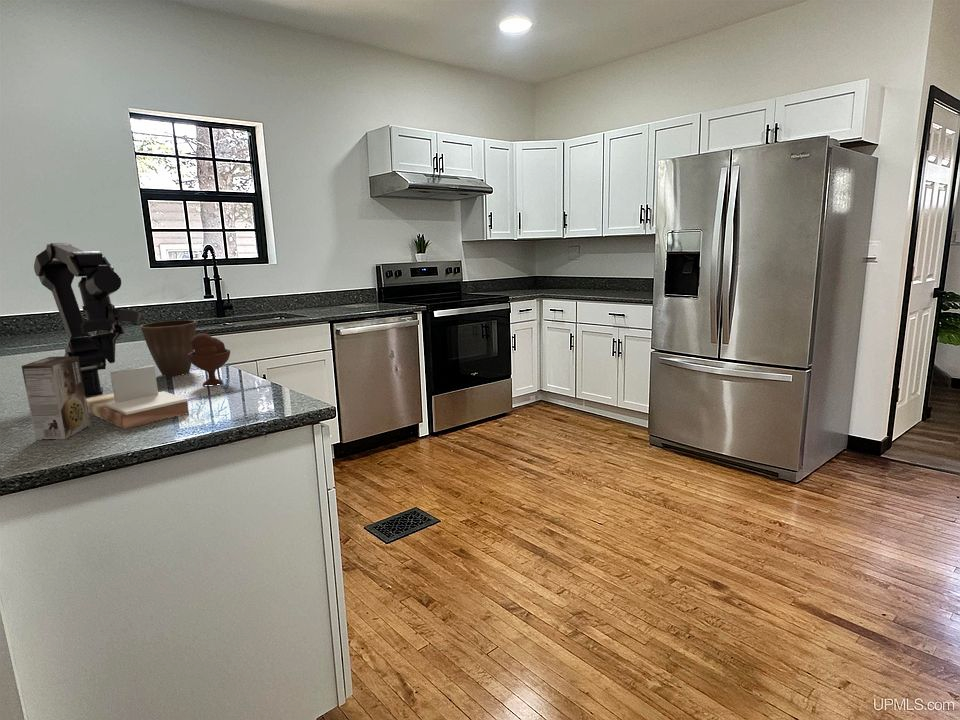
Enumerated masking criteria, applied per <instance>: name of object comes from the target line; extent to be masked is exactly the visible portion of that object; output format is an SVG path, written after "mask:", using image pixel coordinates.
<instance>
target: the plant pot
mask: <svg viewBox="0 0 960 720" xmlns="http://www.w3.org/2000/svg"><path fill="white" fill-rule="evenodd" d="M196 326H197V322H196V320H194V319H193V320H191V319H188V320H187V319H179V320H162V321H156V322H148V323H145V324H141V325H140V328H141V332H142V335H143V338H144V341H145V343H146V346H147V348H148V350H149V351H148V352H150V355H151V356H152V357H151V358H152V360H153V361H154V363H155V365H156V366H157V369H158V370H159V372H160V373H161V375H162V376H163V377H168V376H170V377H177V376H176V375H180V376H183V375H182V374H184V375H187V374H189V373H190V371H191V367H192V363H191V362H190V360H189V358H188V355H187V354H189V353H191V352H193V351H195V350H194V349H193V348H192V347H191V340H192V339H193V337H194V336H196V335H197V334H196V329H197V328H196ZM188 372H189V373H188ZM186 373H187V374H186Z"/></svg>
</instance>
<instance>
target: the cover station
mask: <svg viewBox="0 0 960 720" xmlns="http://www.w3.org/2000/svg"><path fill="white" fill-rule="evenodd" d="M114 401H115V399H114V393H113V392H110V393H107V394H101V395H97V396H92V397H91V396H90V397H86V402H87V407H88V412H90V413H89V414H91V413H92V414H91V415H93V414H94V415H93V416H95V415H96V416H95V417H97V416H99V417H101V418H103V419H102V420H104V419H105V420H104V421H106V420H107V421H106V422H108V421H109V422H108V423H110V422H112V423H113V424H112V423H111V424H112V425H114V424H116V425H118V426H117V427H119V426H120V427H119V428H121V427H122V428H121V429H123V428H124V429H123V430H126V429H125V428H127V429H130V428H129V427H131V428H134V427H133V426H135V427H138V425H139V426H143V425H146V424H151V422H152V423H155V422H154V421H156V422H159V421H158V420H160V421H162V420H161V419H164V420H166V419H165V418H168V419H171V418H170V417H172V418H175V416H176V417H180V416H183V414H184V415H187V414H186V413H188V414H190V411H189V404H188V400H187V401H185V402H181V403H177V404H172V405H168V406H163V407H159V408H155V409H150V410H146V411H141V412H137V413H133V414H128V415H125V414H123V413H121V412H118V411H116V410H114V409H111V408H109V407H106V406H105V403H109V402H114ZM179 415H180V416H179ZM99 417H98V418H99ZM101 418H100V419H101ZM142 424H143V425H142ZM116 425H115V426H116Z"/></svg>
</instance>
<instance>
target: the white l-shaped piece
mask: <svg viewBox="0 0 960 720" xmlns="http://www.w3.org/2000/svg"><path fill="white" fill-rule="evenodd" d="M110 379H111V386H112V391H113V392H112V393H114V399H115V401H114V402H109V403H105V406H106V407H109V408H111V409H114V410H116V411H118V412H121V413H123V414H125V415H128V414H133V413H137V412H141V411H146V410H150V409H155V408H159V407H163V406H168V405H172V404H177V403H181V402H185V401H187V402H188V400H187V397H182V396H179V395H176V394H173V393H170V392H167V391H163V390H162V391H159V389H158V383H157V382H158V381H157V376H156V367H155V365H145V366H139V367H134V368H129V369H127V368H126V369H122V370H118V371H110Z"/></svg>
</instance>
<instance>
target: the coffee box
mask: <svg viewBox="0 0 960 720" xmlns="http://www.w3.org/2000/svg"><path fill="white" fill-rule="evenodd" d="M20 366H21V371H22V375H23V376H22V377H23V381H24V386H25V391H26V396H27V400H28V401H27V402H28V407H29V412H30V417H31V422H32V428H33V432H34V437H35V440H36V441H43V440H42V439H56V440H67V439H68V438H70V436H71V437H72V436H74V435H76V434H78V433H80V432H81V431H83V430H84V428H85V429H87V428H88V427H90V426H91V425H92V424H91V418H90V413H88V407H87V402H86V398H87V395H85V390H84V385H83V380H82V374H81V368H80V363H79V358H78V356H76V357H67V356H65V355H63V356H62V355H61V356H47V357H46V358H42V359H39V360H35V361H32V362H29V363H27V364H24V365H20ZM89 425H90V426H89ZM87 426H88V427H87ZM86 427H87V428H86ZM82 429H83V430H82ZM77 432H78V433H77Z"/></svg>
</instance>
